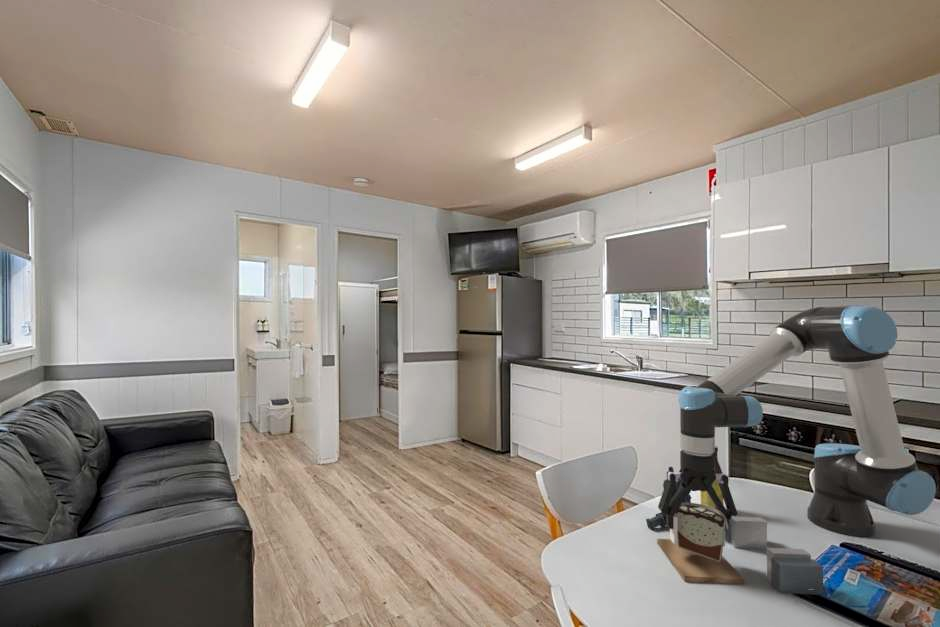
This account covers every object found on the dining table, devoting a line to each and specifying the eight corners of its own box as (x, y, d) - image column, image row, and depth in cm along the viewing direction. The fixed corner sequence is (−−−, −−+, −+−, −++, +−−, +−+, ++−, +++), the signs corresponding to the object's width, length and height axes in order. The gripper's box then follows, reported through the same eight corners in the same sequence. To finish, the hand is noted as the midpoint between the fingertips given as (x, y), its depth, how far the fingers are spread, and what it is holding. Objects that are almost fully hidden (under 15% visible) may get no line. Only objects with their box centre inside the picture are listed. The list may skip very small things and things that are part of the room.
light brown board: (707, 545, 115) (707, 540, 115) (744, 584, 98) (744, 578, 98) (657, 543, 116) (657, 538, 116) (684, 581, 99) (684, 576, 99)
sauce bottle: (727, 514, 134) (727, 449, 134) (707, 514, 134) (707, 449, 134) (715, 505, 140) (715, 443, 141) (696, 505, 140) (696, 443, 141)
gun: (635, 479, 125) (677, 461, 129) (648, 534, 126) (690, 515, 130) (641, 482, 122) (684, 464, 126) (654, 539, 123) (697, 519, 127)
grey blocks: (748, 531, 123) (748, 506, 123) (823, 594, 95) (823, 562, 95) (715, 530, 124) (714, 505, 124) (779, 592, 95) (779, 560, 95)
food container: (735, 554, 105) (735, 512, 105) (727, 564, 101) (727, 521, 101) (681, 536, 114) (681, 497, 114) (672, 545, 109) (672, 504, 109)
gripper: (737, 448, 111) (737, 536, 110) (644, 446, 112) (643, 533, 112) (754, 457, 103) (754, 552, 103) (654, 455, 105) (654, 548, 104)
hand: (697, 542), depth 107 cm, fingers closed on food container, 10 cm apart
